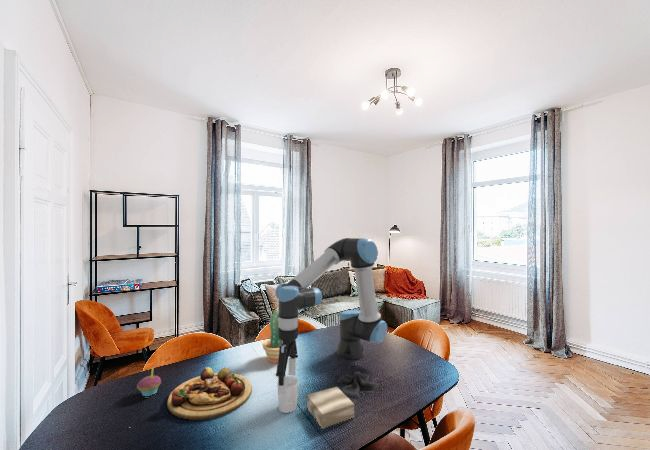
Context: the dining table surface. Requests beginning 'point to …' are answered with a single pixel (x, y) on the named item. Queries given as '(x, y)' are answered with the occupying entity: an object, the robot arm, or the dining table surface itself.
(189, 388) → the wooden plate with food
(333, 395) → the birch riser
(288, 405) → the white cup
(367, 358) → the dining table surface
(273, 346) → the potted cactus
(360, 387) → the cloth
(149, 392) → the cupcake
